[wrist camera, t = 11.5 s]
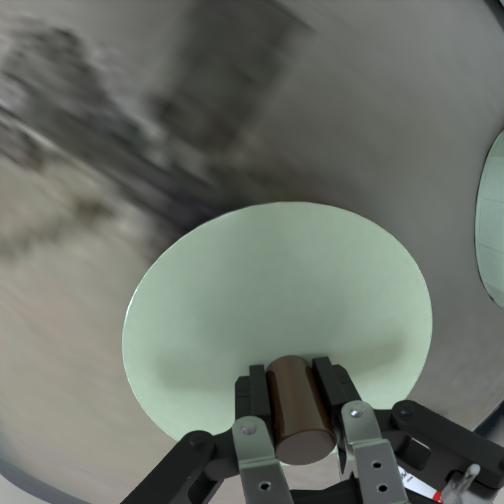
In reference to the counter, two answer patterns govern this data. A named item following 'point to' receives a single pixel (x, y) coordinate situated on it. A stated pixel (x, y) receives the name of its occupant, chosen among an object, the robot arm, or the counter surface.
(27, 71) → the counter surface
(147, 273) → the bin lid
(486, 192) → the bin
